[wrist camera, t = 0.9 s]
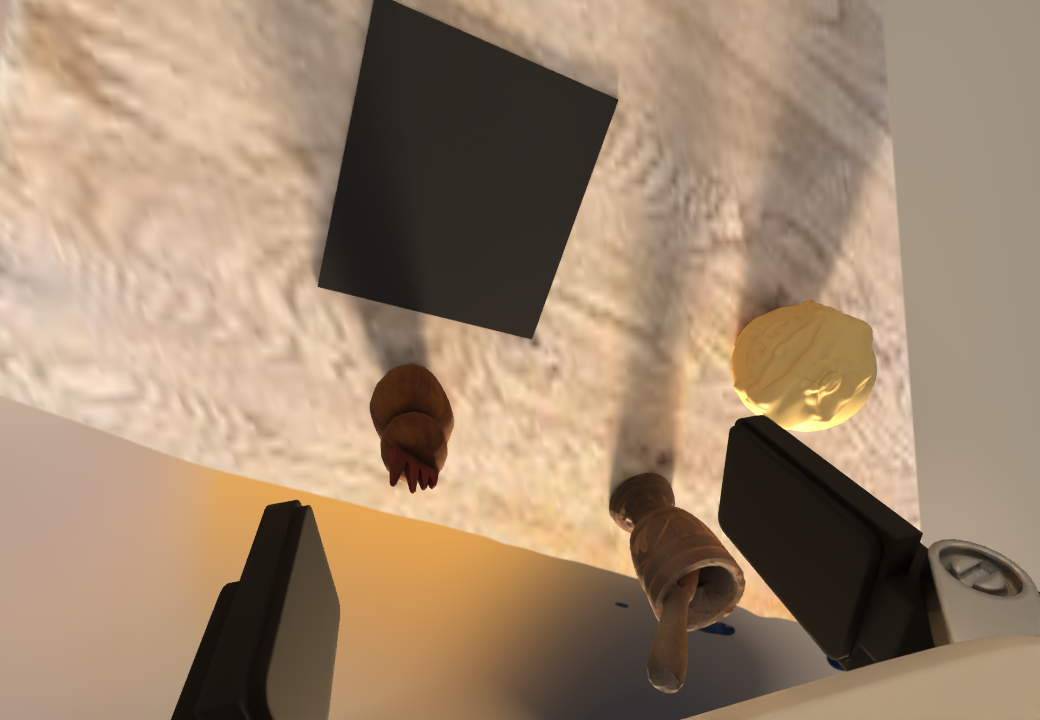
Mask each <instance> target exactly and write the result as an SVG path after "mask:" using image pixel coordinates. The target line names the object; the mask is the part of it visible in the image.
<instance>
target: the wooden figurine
mask: <svg viewBox="0 0 1040 720" xmlns="http://www.w3.org/2000/svg"><path fill="white" fill-rule="evenodd" d="M370 413H371V417H372V420H373V423H374V426H375V429H376V431H377V433H378V435H379V437H380V439H381V457H382V460H383V462H384V464H385V467H386V469H387V470H388V471H389V472H390V485H391V486H393V487H394V486H395V485H396V484H397V482H398V480H399V479H400V480H402V481H404V482H407V483H408V486H409V490H410V492H411V493H412V494H413V493H414V492H415V491H416V486H417V483H419V485H420V487H421V489H422V490H425V489H426V488H427V486H428V485H429V487H430V488H431V489H433V488H434V487H435V486H436V484H437V480H438V474H439V472H440V471H441V470H442V468H443V466H444V463H445V461H446V458H447V442H448V440H449V438H450V435H451V433H452V430H453V427H454V417H453V412H452V409H451V406H450V402H449V400H448V398H447V396H446V394H445V392H444V390H443V388H442V386H441V384H440V383H439V382H438V380H437V379H436V377H435V376H434V375H433V374H432V373H431V372H430V371H429V370H427V369H426V368H425V367H423V366H419V365H415V364H408V365H403V366H399V367H397V368H395V369H393V370H391V371H389V372H388V373H387V374H386V375H385V376H384V377H383V378H382V379H381V380H380V381H379V382H378V383H377V385H376V388H375V390H374V393H373V396H372V399H371V402H370Z"/></svg>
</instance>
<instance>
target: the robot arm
mask: <svg viewBox="0 0 1040 720" xmlns="http://www.w3.org/2000/svg"><path fill="white" fill-rule="evenodd" d="M718 520H719V524H720V527H721V529H722V530H723V532H724V533H725V534H726V536H727V537H728V538H729V539H730V540H731V542H732V543H733V544H734V545H735V546H736V548H737V549H738V550H739V551H740V552H741V554H742V555H743V556H744V557H745V558H746V560H747V561H748V562H749V563H750V564H751V566H752V567H753V568H754V569H755V570H756V572H757V573H758V574H759V575H760V576H761V578H762V579H763V580H764V581H765V583H766V584H767V585H768V586H769V587H770V589H771V590H772V591H773V592H774V593H775V595H776V596H777V597H778V598H779V599H780V601H781V602H782V603H783V604H784V605H785V607H786V608H787V609H788V610H789V611H790V613H791V614H792V615H793V616H794V617H795V619H796V620H797V621H798V622H799V623H800V625H801V626H802V627H803V628H804V629H805V631H806V632H807V633H808V634H809V635H810V637H811V638H812V639H813V640H814V641H815V643H816V644H817V645H818V646H819V647H820V649H821V650H822V651H823V652H824V653H825V654H826V655H827V656H828V657H829V658H830V659H832V660H837V661H838V662H839V664H840V665H841V666H842V667H843V668H844V669H845V671H846V672H844V673H841V674H837V675H833V676H830V677H827V678H823V679H820V680H817V681H813V682H809V683H806V684H803V685H799V686H795V687H792V688H788V689H785V690H782V691H778V692H775V693H771V694H768V695H764V696H761V697H758V698H754V699H750V700H747V701H744V702H740V703H737V704H734V705H730V706H727V707H723V708H720V709H716V710H713V711H710V712H706V713H703V714H700V715H696V716H693V717H689V718H686V719H682V720H1040V592H1038V591H1037V589H1036V586H1035V584H1034V582H1033V581H1032V580H1031V578H1030V577H1029V575H1028V574H1027V573H1026V572H1025V571H1024V570H1023V569H1022V568H1020V567H1019V566H1018V565H1017V564H1016V563H1015V562H1013V561H1011V560H1010V559H1008V558H1006V557H1005V556H1003V555H1002V554H1000V553H998V552H996V551H993V550H991V549H989V548H987V547H985V546H982V545H978V544H975V543H972V542H968V541H962V540H956V539H951V540H950V539H949V540H940V541H937V542H935V543H933V544H932V545H931V546H930V548H929V549H928V548H926V547H925V546H924V545H922V544H921V543H920V540H921V537H922V534H923V533H922V532H921V531H919V530H918V529H917V528H915V527H914V526H913V525H911V524H910V523H909V522H907V521H906V520H905V519H903V518H902V517H901V516H899V515H898V514H897V513H895V512H894V511H893V510H891V509H890V508H889V507H887V506H886V505H885V504H883V503H882V502H881V501H879V500H878V499H877V498H875V497H874V496H873V495H871V494H870V493H869V492H867V491H866V490H865V489H863V488H862V487H861V486H859V485H858V484H857V483H855V482H854V481H853V480H851V479H850V478H849V477H847V476H846V475H845V474H843V473H842V472H841V471H839V470H838V469H837V468H835V467H834V466H833V465H831V464H830V463H829V462H827V461H826V460H825V459H823V458H822V457H821V456H819V455H818V454H817V453H815V452H814V451H813V450H811V449H810V448H809V447H807V446H806V445H805V444H803V443H802V442H801V441H799V440H798V439H797V438H795V437H794V436H793V435H791V434H790V433H789V432H787V431H786V430H785V429H783V428H782V427H781V426H779V425H778V424H777V423H775V422H774V421H773V420H771V419H770V418H769V417H767V416H765V415H757V416H751V417H746V418H740V419H738V420H737V421H736V423H735V426H733V427H731V429H730V432H729V438H728V446H727V453H726V460H725V468H724V475H723V482H722V490H721V497H720V505H719V512H718ZM339 621H340V605H339V599H338V596H337V592H336V589H335V585H334V582H333V579H332V575H331V572H330V569H329V565H328V562H327V558H326V555H325V551H324V548H323V545H322V541H321V538H320V534H319V531H318V527H317V524H316V521H315V517H314V514H313V511H312V508H311V506H310V505H307V506H302V505H301V503H300V501H299V500H293V501H288V502H282V503H277V504H271V505H268V506H266V509H265V510H264V513H263V516H262V519H261V522H260V524H259V527H258V530H257V533H256V536H255V539H254V541H253V544H252V547H251V550H250V553H249V556H248V558H247V562H246V564H245V567H244V570H243V573H242V575H241V578H240V581H237V582H232V583H228V584H226V585H225V586H224V587H223V589H222V591H221V592H220V594H219V597H218V599H217V602H216V604H215V607H214V610H213V612H212V615H211V617H210V620H209V622H208V625H207V628H206V630H205V633H204V636H203V638H202V641H201V643H200V646H199V648H198V651H197V653H196V656H195V659H194V661H193V664H192V666H191V669H190V672H189V674H188V677H187V680H186V682H185V685H184V687H183V690H182V692H181V695H180V698H179V700H178V703H177V705H176V708H175V710H174V713H173V716H172V718H171V720H328V715H329V707H330V699H331V690H332V682H333V681H332V680H333V673H334V664H335V655H336V647H337V639H338V630H339Z"/></svg>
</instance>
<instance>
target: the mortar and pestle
mask: <svg viewBox="0 0 1040 720" xmlns="http://www.w3.org/2000/svg"><path fill="white" fill-rule="evenodd" d="M674 506H675V499H674V494H673V491H672V488H671V485H670V484H669V482H668V481H667V480H666V479H665V478H664V477H663V476H660V475H658V474H653V473H646V474H643V475H639V476H636V477H633V478H631V479H629V480H627V481H626V482H624V483H623V484H622V485H621V486H620V487H619V488H618V490H617V491H616V492H615V493H614V495H613V497H612V499H611V501H610V504H609V510H610V515H611V517H612V518H613V520H614V521H615V523H616V524H617V525H618V526H620V527H621V528H622V529H623V530H625V531H627V532H629V533H631V537H630V550H631V556H632V561H633V565H634V568H635V571H636V574H637V577H638V579H639V581H640V583H641V585H642V587H643V589H644V591H645V592H646V594H647V597H648V600H649V602H650V604H651V606H652V609H653V611H654V614H655V616H656V618H657V619H658V621H659V624H658V628H657V630H656V633H655V636H654V639H653V643H652V646H651V649H650V652H649V656H648V660H647V670H648V678H649V680H650V682H651V683H652V684H653V686H654V687H655V688H657V689H658V690H660V691H662V692H665V693H674V692H677V691H678V690H679V689H680V688H681V686H682V685H683V683H684V681H685V677H686V673H687V631H693V630H697V629H700V628H703V627H706V626H708V625H711V624H713V623H714V622H717V621H718V620H720V619H722V618H723V617H724V616H727V615H729V614H730V613H731V612H732V611H733V610H734V608H735V607H736V604H738V603H739V601H740V599H741V597H742V595H743V592H744V588H745V580H744V576H743V574H744V573H743V571H742V570H741V568H740V567H739V565H738V564H737V563H736V561H735V560H734V558H733V557H732V556H731V555H730V553H729V552H728V551H727V550H726V548H725V547H724V546H723V545H722V543H721V542H720V541H719V539H718V538H717V537H716V536H715V534H714V533H713V532H712V531H711V530H710V529H709V528H708V527H707V526H706V525H705V524H704V523H703V522H702V521H700V520H699V519H698V518H696V517H695V516H693V515H692V514H690V513H689V512H687V511H685V510H683V509H680V508H677V507H674Z"/></svg>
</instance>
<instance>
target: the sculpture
mask: <svg viewBox="0 0 1040 720" xmlns="http://www.w3.org/2000/svg"><path fill="white" fill-rule="evenodd" d="M872 333H873V332H872V328H871V326H870V325H869V324H868V323H866V322H864V321H862V320H860V319H857V318H854V317H852V316H850V315H847V314H844V313H842V312H841V311H838V310H836V309H834V308H832V307H828V306H824V305H822V304H819V303H816V302H814V301H810V300H808V301H805V302H803V303H802V304H797V305H791V306H785V307H781V308H778V309H775V310H773V311H770V312H768V313H766V314H764V315H762V316H758V317H756V318H755V319H753V320H752V321H751V322H750V323H749V324H748V325H747V326H746V327H745V328H744V329H743V330H742V332H741V333H740V335H739V336H738V338H737V340H736V342H735V349H734V352H733V355H732V361H731V374H732V379H733V382H734V389H735V390H736V391H737V393H738V395H739V397H740V398H741V400H742V401H743V403H744V404H745V405H746V406H747V407H748V408H749V409H750V410H751V411H752V412H754V413H755V414H756V415H765V416H767V417H769V418H770V419H771V420H773V421H774V422H775V423H777V424H778V425H779V426H781V427H782V428H783V429H785V430H787V429H790V430H795V431H818V430H823V429H827V428H830V427H833V426H835V425H837V424H839V423H841V422H843V421H845V420H847V419H848V418H849V417H851V416H852V415H853V414H855V413H856V412H857V411H858V410H859V409H860V408H861V407H862V406H863V404H864V403H865V402H866V400H867V399H868V397H869V395H870V393H871V391H872V389H873V386H874V383H875V380H876V374H877V363H876V357H875V354H874V351H873V348H872V346H871V343H872V340H873V336H872Z"/></svg>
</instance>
